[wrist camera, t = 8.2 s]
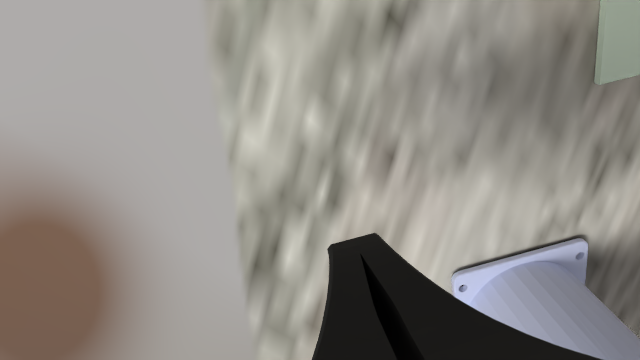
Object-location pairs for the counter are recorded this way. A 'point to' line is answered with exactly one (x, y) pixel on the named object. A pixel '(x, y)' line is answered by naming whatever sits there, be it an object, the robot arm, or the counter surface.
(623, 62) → the sage mat
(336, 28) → the counter surface
